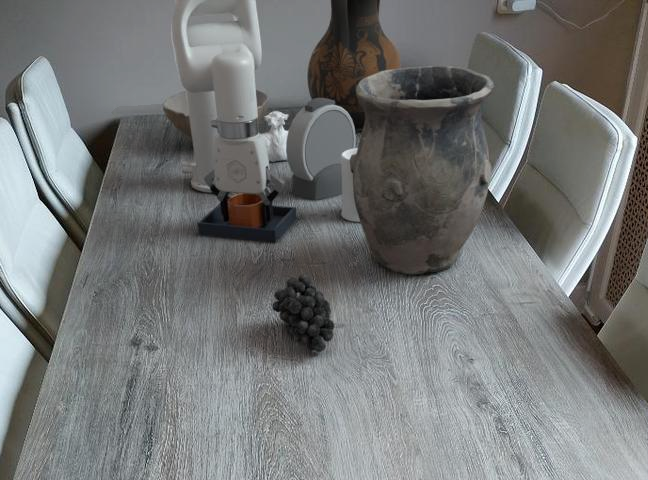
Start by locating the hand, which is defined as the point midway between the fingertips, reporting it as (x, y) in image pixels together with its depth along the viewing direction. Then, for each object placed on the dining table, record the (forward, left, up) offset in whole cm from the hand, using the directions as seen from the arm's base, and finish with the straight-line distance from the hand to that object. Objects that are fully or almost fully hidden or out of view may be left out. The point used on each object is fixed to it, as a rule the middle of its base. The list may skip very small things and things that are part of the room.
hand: (247, 220), depth 158 cm
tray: (0, 0, -1) cm, 1 cm away
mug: (+22, +12, -2) cm, 25 cm away
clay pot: (+36, -7, -2) cm, 37 cm away
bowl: (-29, +52, -2) cm, 60 cm away
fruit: (+26, -40, -2) cm, 48 cm away
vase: (+1, +73, -2) cm, 73 cm away
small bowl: (0, 0, -1) cm, 1 cm away
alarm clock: (+8, +24, -2) cm, 25 cm away
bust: (-9, +42, -2) cm, 43 cm away
